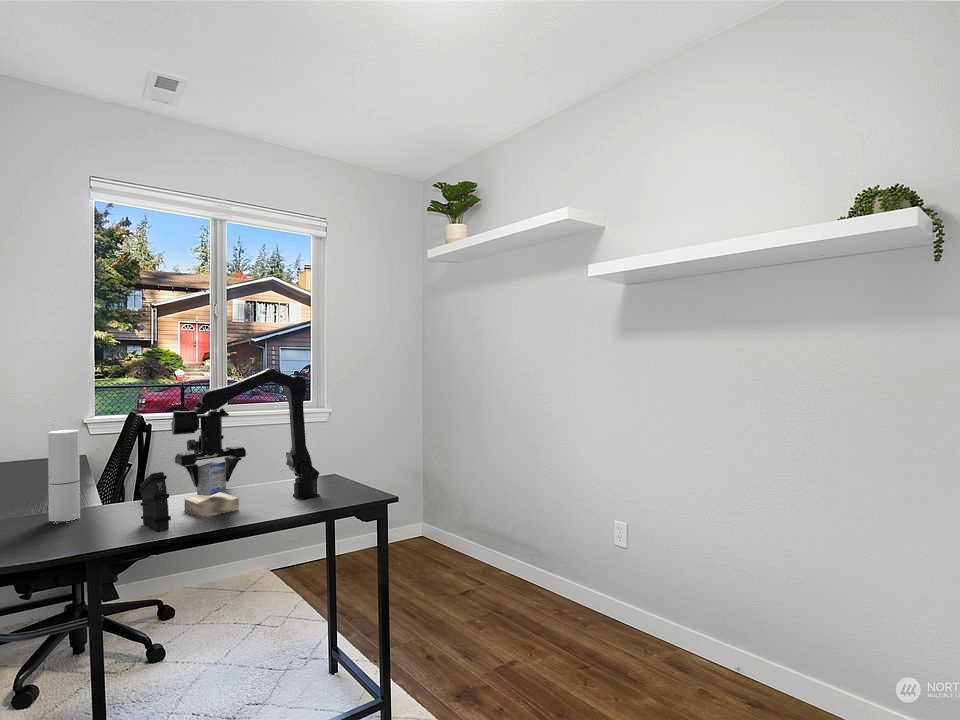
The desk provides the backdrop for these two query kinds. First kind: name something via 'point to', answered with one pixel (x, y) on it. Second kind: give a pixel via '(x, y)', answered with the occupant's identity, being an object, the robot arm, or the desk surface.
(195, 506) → the maple block
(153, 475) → the magazine
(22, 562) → the desk surface
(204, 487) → the medicine box
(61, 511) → the cylindrical container
